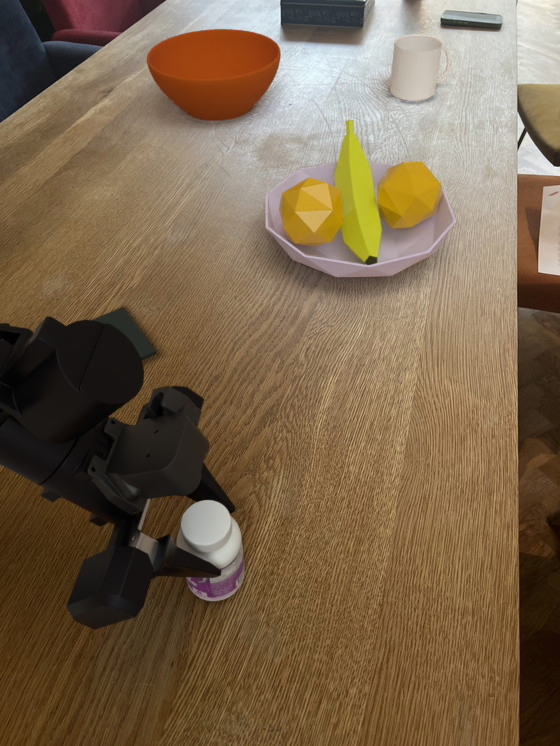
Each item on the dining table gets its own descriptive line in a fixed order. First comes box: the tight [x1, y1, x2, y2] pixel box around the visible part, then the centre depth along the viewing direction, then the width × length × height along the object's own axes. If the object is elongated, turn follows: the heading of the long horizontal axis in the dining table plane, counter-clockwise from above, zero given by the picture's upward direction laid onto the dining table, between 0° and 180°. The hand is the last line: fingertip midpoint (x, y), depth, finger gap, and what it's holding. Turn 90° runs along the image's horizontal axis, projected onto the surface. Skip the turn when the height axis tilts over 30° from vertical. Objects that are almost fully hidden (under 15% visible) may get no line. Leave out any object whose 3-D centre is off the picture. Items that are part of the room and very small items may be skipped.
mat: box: [92, 306, 157, 361], centre depth 76 cm, size 10×10×1 cm
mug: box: [389, 33, 452, 102], centre depth 121 cm, size 12×9×9 cm
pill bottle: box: [176, 500, 246, 602], centre depth 52 cm, size 5×5×10 cm
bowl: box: [146, 28, 282, 122], centre depth 119 cm, size 25×25×10 cm
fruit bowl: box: [264, 119, 457, 278], centre depth 86 cm, size 28×27×11 cm
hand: (225, 542), depth 50 cm, fingers closed on pill bottle, 5 cm apart
